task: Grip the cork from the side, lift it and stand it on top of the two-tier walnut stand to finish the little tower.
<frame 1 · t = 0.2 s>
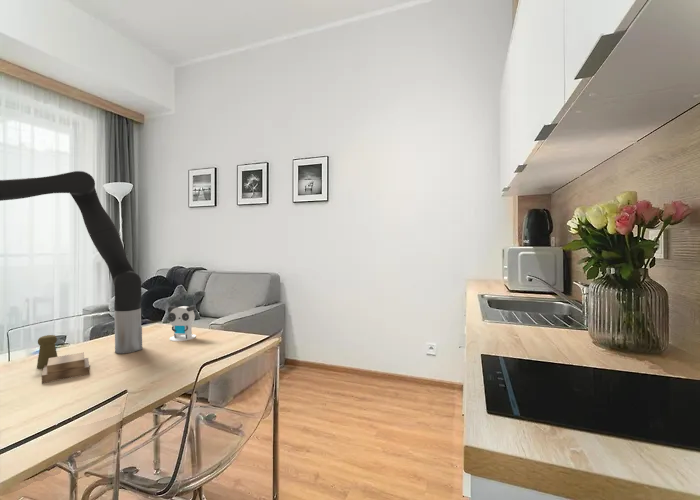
cork: (48, 366, 123), on the table
panda figurine: (182, 338, 159), on the table
walnut stand: (66, 373, 116), on the table
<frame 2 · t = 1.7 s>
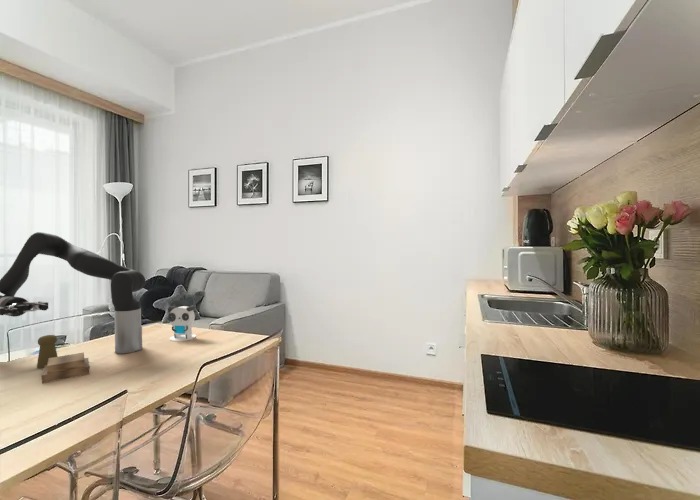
hand: (31, 309, 127), 20 cm above the table, tool horizontal, fingers open, 8 cm apart
nothing on the table moved.
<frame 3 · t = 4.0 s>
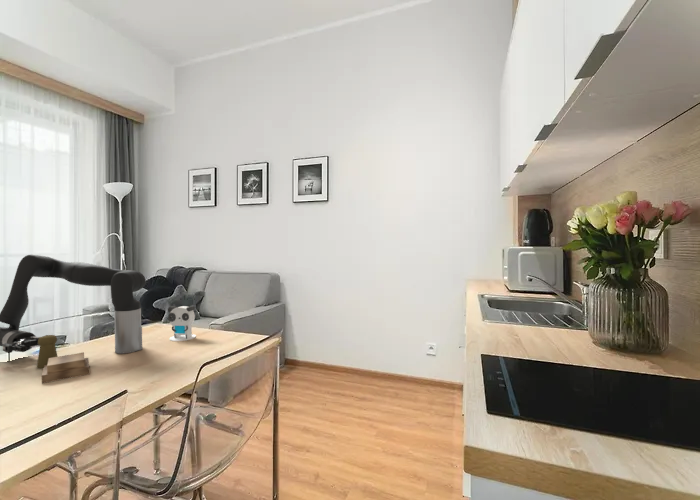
hand: (39, 345, 126), 6 cm above the table, tool horizontal, fingers open, 8 cm apart
nothing on the table moved.
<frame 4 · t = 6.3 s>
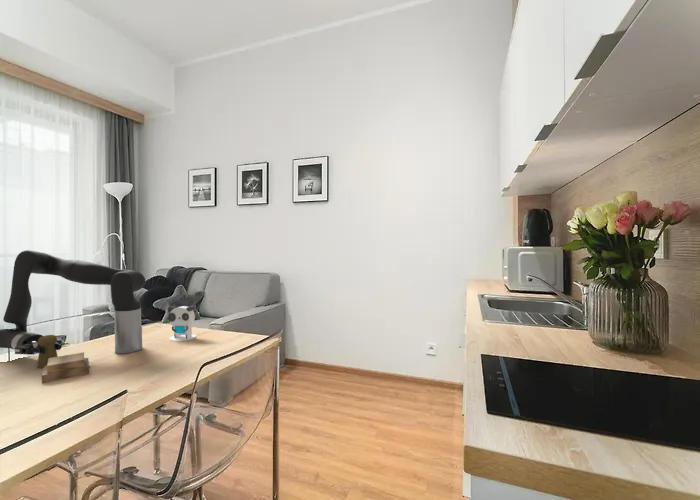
hand: (51, 348, 122), 7 cm above the table, tool horizontal, fingers closed on cork, 4 cm apart
cork: (48, 366, 123), on the table, touching gripper
everything else where it was.
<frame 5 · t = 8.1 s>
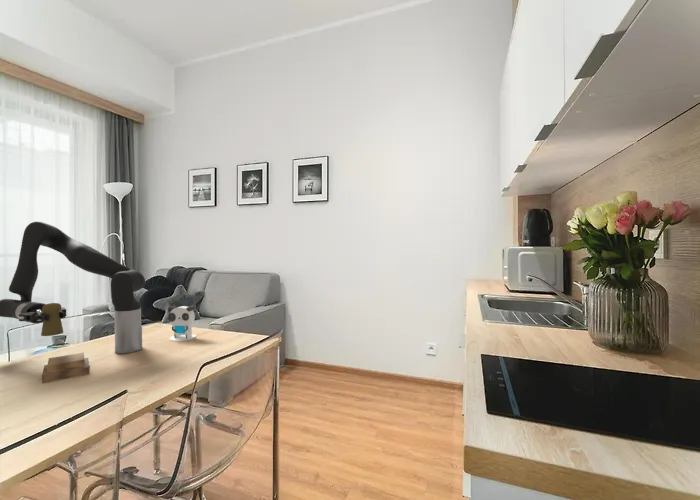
hand: (56, 316, 119), 19 cm above the table, tool horizontal, fingers closed on cork, 4 cm apart
cork: (52, 334, 121), point 12 cm above the table, touching gripper
everything else where it was.
when the fingers open (13 cm above the table, at t = 10.3 s): cork moves 3 cm, resting on walnut stand.
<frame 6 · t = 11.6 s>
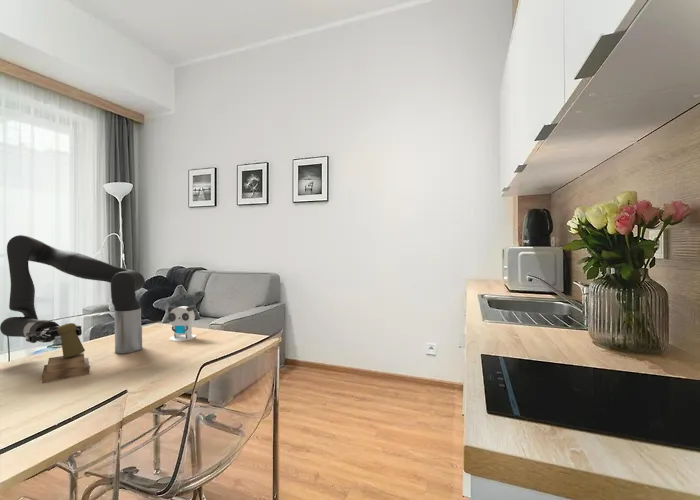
hand: (65, 335, 116), 13 cm above the table, tool horizontal, fingers open, 8 cm apart
cork: (74, 354, 118), point 5 cm above the table, touching gripper, walnut stand
everything else where it was.
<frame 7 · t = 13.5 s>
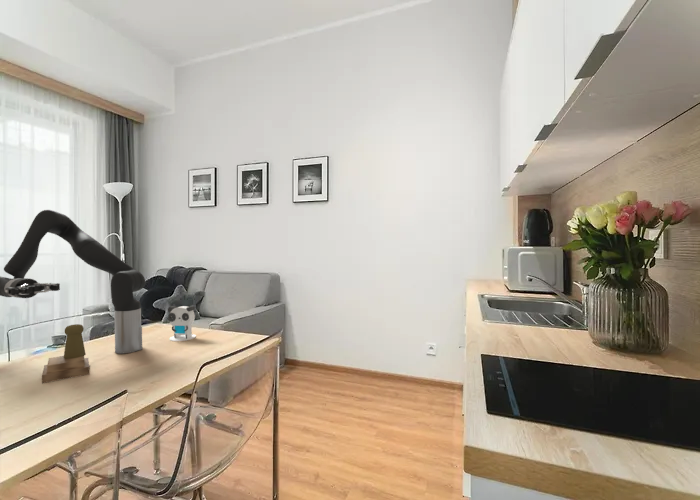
hand: (43, 289, 123), 28 cm above the table, tool horizontal, fingers open, 8 cm apart
cork: (74, 356, 118), point 5 cm above the table, touching walnut stand
everything else where it was.
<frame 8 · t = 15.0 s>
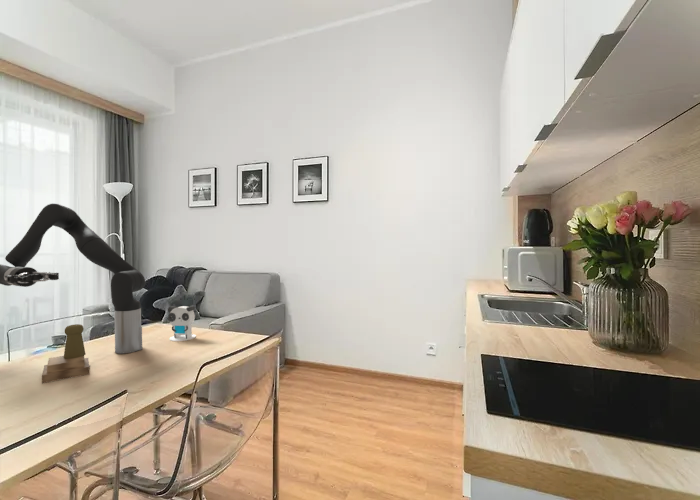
hand: (42, 278, 123), 32 cm above the table, tool horizontal, fingers open, 8 cm apart
nothing on the table moved.
at the end: cork inside the target area on the walnut stand (3.0 cm from its centre), point 4.8 cm above the walnut stand's base; cork tilted 0°; the gripper is holding nothing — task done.
